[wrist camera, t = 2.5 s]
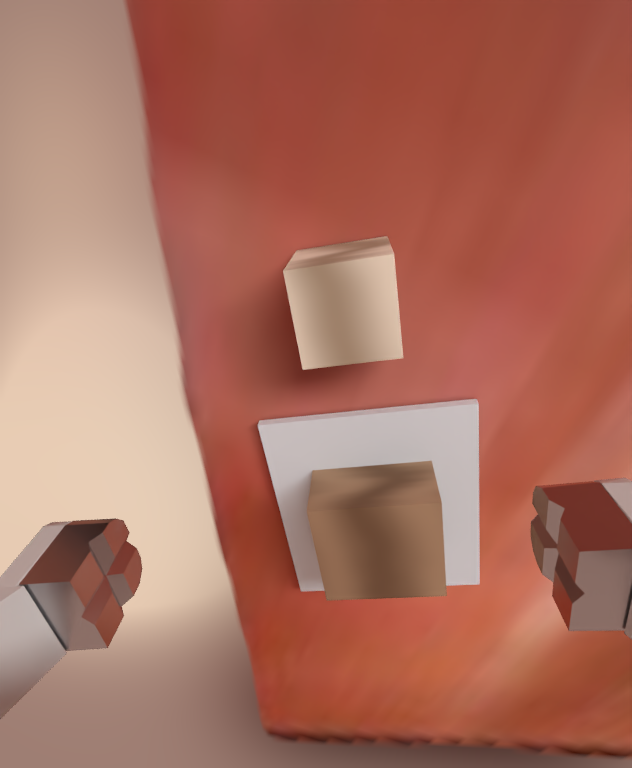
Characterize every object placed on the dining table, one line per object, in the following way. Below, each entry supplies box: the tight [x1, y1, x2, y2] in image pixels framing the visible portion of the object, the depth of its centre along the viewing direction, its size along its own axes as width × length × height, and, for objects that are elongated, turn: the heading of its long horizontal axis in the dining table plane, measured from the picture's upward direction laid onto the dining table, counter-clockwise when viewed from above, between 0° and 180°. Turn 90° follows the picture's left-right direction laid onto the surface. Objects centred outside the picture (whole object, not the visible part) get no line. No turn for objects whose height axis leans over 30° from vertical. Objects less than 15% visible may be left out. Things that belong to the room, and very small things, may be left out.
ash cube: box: [283, 236, 403, 370], centre depth 23 cm, size 5×5×5 cm
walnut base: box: [307, 461, 447, 600], centre depth 30 cm, size 8×8×4 cm
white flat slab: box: [258, 399, 480, 591], centre depth 32 cm, size 14×16×1 cm
